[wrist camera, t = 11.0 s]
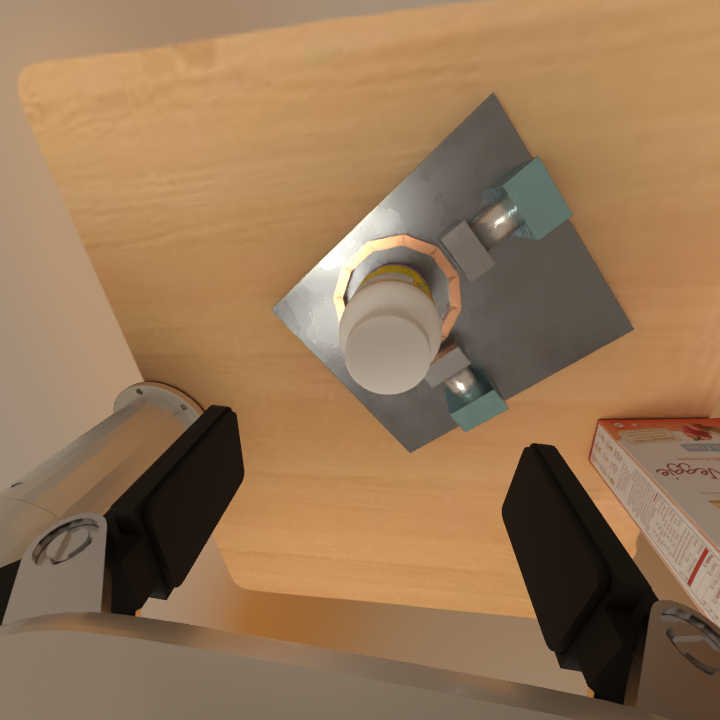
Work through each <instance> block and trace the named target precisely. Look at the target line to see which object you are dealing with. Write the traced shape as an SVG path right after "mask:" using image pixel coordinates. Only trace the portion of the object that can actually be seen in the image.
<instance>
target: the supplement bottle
mask: <svg viewBox="0 0 720 720" xmlns="http://www.w3.org/2000/svg"><path fill="white" fill-rule="evenodd" d="M441 340H442V323H441V319H440V316H439V313H438V310H437V308H436V305H435V302H434V300H433V297H432V294H431V291H430V289H429V287H428V284H427V283H426V281H425V280H424V278H423V277H422V276H421V275H420V274H419V273H418V272H417V271H416V270H414V269H413V268H411V267H408V266H406V265H402V264H387V265H383V266H380V267H378V268H376V269H374V270H373V271H371V272H370V273H369V274H368V275H367V276H366V277H365V278H364V279H363V281H362V282H361V284H360V285H359V287H358V288H357V290H356V292H355V293H354V295H353V296H352V298H351V299H350V301H349V302H348V304H347V305H346V307H345V309H344V311H343V313H342V316H341V319H340V323H339V341H340V346H341V349H342V351H343V353H344V357H345V363H346V367H347V369H348V371H349V373H350V375H351V376H352V378H353V379H354V380H355V381H356V382H357V383H358V384H359V385H361V386H362V387H363V388H365V389H367V390H369V391H371V392H374V393H378V394H385V395H391V394H398V393H402V392H405V391H407V390H410V389H411V388H413V387H415V386H416V385H417V384H418V383H419V382H420V381H421V380H422V379H423V378H424V377H425V375H426V373H427V371H428V369H429V366H430V363H431V362H432V361H433V360H434V358H435V356H436V355H437V352H438V350H439V348H440V344H441Z"/></svg>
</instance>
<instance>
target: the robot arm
mask: <svg viewBox="0 0 720 720" xmlns="http://www.w3.org/2000/svg"><path fill="white" fill-rule="evenodd" d="M243 478H244V465H243V458H242V451H241V444H240V436H239V429H238V422H237V415H236V413H235V412H232V409H231V408H230V407H226V406H217V405H211V406H210V407H209V408H208V409H207V410H206V411H205V412H203V411H202V410H201V408H200V407H199V406H198V405H197V404H196V403H195V402H194V401H193V400H192V399H191V398H189V397H188V396H187V395H185V394H184V393H182V392H181V391H179V390H177V389H175V388H173V387H170V386H167V385H164V384H161V383H155V382H141V383H136V384H134V385H132V386H130V387H128V388H127V389H125V390H124V391H122V392H121V393H120V394H119V395H118V397H117V398H116V400H115V403H114V414H112V415H111V416H110V417H108V418H107V419H105V420H104V421H102V422H101V423H99V424H98V425H97V426H95V427H94V428H92V429H91V430H89V431H88V432H86V433H85V434H83V435H82V436H81V437H79V438H78V439H76V440H75V441H73V442H72V443H70V444H69V445H68V446H66V447H65V448H63V449H62V450H60V451H59V452H57V453H56V454H55V455H53V456H52V457H50V458H49V459H47V460H46V461H44V462H43V463H41V464H40V465H39V466H37V467H36V468H34V469H33V470H31V471H30V472H28V473H27V474H26V475H24V476H23V477H21V478H20V479H18V480H17V481H15V482H14V483H12V484H11V485H10V486H8V487H7V488H5V489H4V490H2V491H1V492H0V720H720V628H719V627H718V626H717V625H716V624H715V623H713V622H712V621H710V620H709V619H708V618H706V617H705V616H703V615H702V614H701V613H699V612H697V611H695V610H694V609H692V608H690V607H688V606H686V605H684V604H681V603H678V602H675V601H672V600H660V601H659V600H658V598H657V597H656V595H655V594H654V592H653V591H652V588H651V586H650V585H649V583H648V582H647V580H646V579H645V577H644V576H643V574H642V573H641V571H640V570H639V568H638V567H637V566H636V564H635V563H634V561H633V560H632V558H631V557H630V555H629V554H628V552H627V551H626V549H625V548H624V547H623V545H622V544H621V542H620V541H619V539H618V538H617V536H616V535H615V533H614V532H613V530H612V529H611V528H610V526H609V525H608V523H607V522H606V520H605V519H604V517H603V516H602V514H601V513H600V511H599V510H598V508H597V507H596V506H595V504H594V503H593V501H592V500H591V498H590V497H589V495H588V494H587V492H586V491H585V489H584V488H583V487H582V485H581V484H580V482H579V481H578V479H577V478H576V476H575V475H574V473H573V472H572V470H571V469H570V468H569V466H568V465H567V463H566V462H565V460H564V459H563V457H562V456H561V454H560V453H559V451H558V450H557V449H556V448H555V446H552V445H545V444H537V443H532V444H531V445H530V447H525V448H524V450H523V452H522V455H521V458H520V460H519V463H518V466H517V469H516V471H515V474H514V477H513V479H512V482H511V485H510V487H509V490H508V493H507V495H506V498H505V501H504V503H503V506H502V518H503V521H504V524H505V527H506V530H507V532H508V535H509V538H510V541H511V544H512V547H513V550H514V553H515V556H516V558H517V561H518V564H519V567H520V570H521V573H522V576H523V579H524V582H525V584H526V587H527V590H528V593H529V596H530V599H531V602H532V605H533V608H534V610H535V613H536V616H537V619H538V622H539V625H540V628H541V631H542V633H543V636H544V639H545V642H546V644H547V646H548V648H549V649H550V650H551V651H554V652H555V654H556V657H557V660H558V663H559V665H560V668H563V669H569V670H575V671H580V672H582V673H583V675H584V678H585V680H586V683H587V685H588V687H589V689H588V693H587V697H586V696H581V695H576V694H571V693H566V692H561V691H556V690H551V689H546V688H542V687H537V686H532V685H527V684H521V683H516V682H510V681H505V680H499V679H494V678H489V677H483V676H477V675H472V674H467V673H461V672H456V671H450V670H445V669H440V668H434V667H429V666H423V665H418V664H411V663H407V662H401V661H395V660H390V659H384V658H378V657H372V656H367V655H362V654H356V653H350V652H345V651H339V650H334V649H328V648H322V647H317V646H311V645H305V644H300V643H293V642H288V641H283V640H277V639H271V638H265V637H259V636H253V635H248V634H241V633H236V632H230V631H224V630H218V629H213V628H207V627H201V626H195V625H189V624H183V623H176V622H170V621H163V620H156V619H149V618H142V617H141V608H142V607H143V605H144V603H145V602H146V601H147V599H148V597H151V598H157V599H163V600H167V599H168V597H169V595H170V594H171V592H172V590H173V589H174V587H179V586H180V585H181V584H182V583H183V581H184V580H185V578H186V576H187V574H188V573H189V571H190V569H191V568H192V566H193V564H194V563H195V561H196V559H197V558H198V556H199V554H200V552H201V550H202V549H203V547H204V545H205V544H206V542H207V541H208V539H209V537H210V535H211V534H212V532H213V530H214V529H215V527H216V525H217V524H218V522H219V520H220V519H221V517H222V515H223V513H224V512H225V510H226V508H227V507H228V505H229V503H230V502H231V500H232V498H233V497H234V495H235V493H236V491H237V490H238V488H239V486H240V485H241V483H242V481H243Z"/></svg>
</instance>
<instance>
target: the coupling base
mask: <svg viewBox="0 0 720 720" xmlns="http://www.w3.org/2000/svg"><path fill="white" fill-rule="evenodd" d="M572 215H573V214H572V212H571V211H570V209H569V207H568V206H567V204H566V202H565V201H564V199H563V197H562V195H561V194H560V192H559V190H558V189H557V187H556V185H555V184H554V182H553V180H552V178H551V177H550V175H549V173H548V172H547V170H546V168H545V167H544V165H543V163H542V161H541V160H540V158H539V156H537V157H535V158H532V157H531V155H530V154H529V152H528V150H527V149H526V147H525V145H524V143H523V142H522V140H521V138H520V137H519V135H518V133H517V132H516V130H515V128H514V127H513V125H512V123H511V122H510V120H509V118H508V117H507V115H506V113H505V112H504V110H503V108H502V106H501V105H500V103H499V101H498V100H497V98H496V96H495V95H494V93H492V94H491V95H490V96H489V97H488V98H487V99H486V100H485V101H484V102H483V103H482V104H481V105H480V106H479V107H478V108H477V109H476V110H475V111H474V112H473V113H472V114H471V115H470V116H469V117H467V118H466V119H465V120H464V121H463V122H462V123H461V124H460V125H459V126H458V127H457V128H456V129H455V130H454V131H453V132H452V133H451V134H450V135H449V136H448V137H447V138H446V139H445V140H444V141H443V142H442V143H441V144H440V145H439V146H438V147H437V148H436V149H435V150H434V151H433V152H432V153H431V154H430V155H429V156H428V157H427V158H426V159H425V160H424V161H423V162H421V163H420V164H419V165H418V166H417V167H416V168H415V169H414V170H413V171H412V172H411V173H410V174H409V175H408V176H407V177H406V178H405V179H404V180H403V181H402V182H401V183H400V184H399V185H398V186H397V187H396V188H395V189H394V190H393V191H392V192H391V193H390V194H389V195H388V196H387V197H386V198H385V199H384V200H383V201H382V202H381V203H380V204H379V205H378V206H377V207H375V208H374V209H373V210H372V211H371V212H370V213H369V214H368V215H367V216H366V217H365V218H364V219H363V220H362V221H361V222H360V223H359V224H358V225H357V226H356V227H355V228H354V229H353V230H352V231H351V232H350V233H349V234H348V235H347V236H346V237H345V238H344V239H343V240H342V241H341V242H340V243H339V244H338V245H337V246H336V247H335V248H334V249H333V250H332V251H331V252H329V253H328V254H327V255H326V256H325V257H324V258H323V259H322V260H321V261H320V262H319V263H318V264H317V265H316V266H315V267H314V268H313V269H312V270H311V271H310V272H309V273H308V274H307V275H306V276H305V277H304V278H303V279H302V280H301V281H300V282H299V283H298V284H297V285H296V286H295V287H294V288H293V289H292V290H291V291H290V292H289V293H288V294H287V295H286V296H285V297H284V298H282V299H281V300H280V301H279V302H278V303H277V304H276V305H275V306H274V307H273V308H272V309H271V310H272V311H273V312H274V313H275V314H276V315H277V316H278V317H279V319H280V320H281V321H282V322H283V323H284V324H285V325H286V326H287V327H288V328H289V329H290V330H291V331H292V332H293V333H294V334H295V335H296V336H297V337H298V338H299V339H300V340H301V341H302V342H303V343H304V344H305V345H306V346H307V347H308V348H309V349H310V350H311V351H312V352H313V354H314V355H315V356H316V357H317V358H318V359H319V360H320V361H321V362H322V363H323V364H324V365H325V366H326V367H327V368H328V369H329V370H330V371H331V372H332V373H333V374H334V375H335V376H336V377H337V378H338V379H339V380H340V381H341V382H342V383H343V384H344V385H345V386H346V387H347V388H348V390H349V391H350V392H351V393H352V394H353V395H354V396H355V397H356V398H357V399H358V400H359V401H360V402H361V403H362V404H363V405H364V406H365V407H366V408H367V409H368V410H369V411H370V412H371V413H372V414H373V415H374V416H375V417H376V418H377V419H378V420H379V421H380V422H381V423H382V425H383V426H384V427H385V428H386V429H387V430H388V431H389V432H390V433H391V434H392V435H393V436H394V437H395V438H396V439H397V440H398V441H399V442H400V443H401V444H402V445H403V446H404V447H405V448H406V449H407V450H408V451H409V452H410V453H411V452H413V451H415V450H416V449H418V448H420V447H422V446H424V445H425V444H427V443H429V442H431V441H433V440H435V439H436V438H438V437H440V436H442V435H444V434H445V433H447V432H449V431H451V430H453V429H454V428H456V427H458V426H460V427H461V428H462V429H463V430H464V431H465V432H466V431H468V430H470V429H472V428H474V427H476V426H478V425H479V424H481V423H483V422H485V421H487V420H489V419H491V418H492V417H494V416H496V415H498V414H500V413H502V412H504V411H505V410H507V409H509V407H508V406H507V404H506V402H505V400H507V399H509V398H511V397H512V396H514V395H516V394H518V393H520V392H522V391H523V390H525V389H527V388H529V387H531V386H532V385H534V384H536V383H538V382H540V381H541V380H543V379H545V378H547V377H549V376H551V375H552V374H554V373H556V372H558V371H560V370H561V369H563V368H565V367H567V366H569V365H570V364H572V363H574V362H576V361H578V360H580V359H581V358H583V357H585V356H587V355H589V354H590V353H592V352H594V351H596V350H598V349H599V348H601V347H603V346H605V345H607V344H609V343H610V342H612V341H614V340H616V339H618V338H619V337H621V336H623V335H625V334H627V333H628V332H630V331H632V330H634V328H633V327H632V325H631V323H630V322H629V320H628V318H627V317H626V315H625V313H624V312H623V310H622V308H621V307H620V305H619V303H618V302H617V300H616V298H615V296H614V295H613V293H612V291H611V290H610V288H609V286H608V285H607V283H606V281H605V280H604V278H603V276H602V275H601V273H600V271H599V270H598V268H597V266H596V265H595V263H594V261H593V259H592V258H591V256H590V254H589V253H588V251H587V249H586V248H585V246H584V244H583V243H582V241H581V239H580V238H579V236H578V234H577V233H576V231H575V229H574V228H573V226H572V224H571V223H570V221H569V219H568V218H570V217H571V216H572ZM387 264H402V265H406V266H408V267H411V268H413V269H414V270H416V271H417V272H418V273H419V274H420V275H421V276H422V277H423V278H424V280H425V281H426V283H427V284H428V287H429V289H430V291H431V294H432V297H433V300H434V302H435V305H436V308H437V310H438V313H439V316H440V319H441V323H442V340H441V344H440V348H439V350H438V352H437V355H436V356H435V358H434V360H433V361H432V362H431V363H430V366H429V369H428V371H427V373H426V375H425V377H424V378H423V379H422V380H421V381H420V382H419V383H418V384H417V385H416V386H415V387H413V388H411V389H410V390H407V391H405V392H402V393H398V394H391V395H385V394H378V393H374V392H371V391H369V390H367V389H365V388H363V387H362V386H361V385H359V384H358V383H357V382H356V381H355V380H354V379H353V378H352V376H351V375H350V373H349V371H348V369H347V367H346V363H345V357H344V353H343V351H342V349H341V346H340V341H339V323H340V319H341V316H342V313H343V311H344V309H345V307H346V305H347V304H348V302H349V301H350V299H351V298H352V296H353V295H354V293H355V292H356V290H357V288H358V287H359V285H360V284H361V282H362V281H363V279H364V278H365V277H366V276H367V275H368V274H369V273H370V272H371V271H373V270H374V269H376V268H378V267H380V266H383V265H387Z"/></svg>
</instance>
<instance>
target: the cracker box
mask: <svg viewBox="0 0 720 720" xmlns="http://www.w3.org/2000/svg"><path fill="white" fill-rule="evenodd" d="M589 462H590V463H591V465H592V466H593V467H594V469H595V470H596V472H597V473H598V474H599V476H600V477H601V478H602V480H603V481H604V482H605V484H606V485H607V486H608V488H609V489H610V490H611V492H612V493H613V494H614V496H615V497H616V499H617V500H618V501H619V503H620V504H621V505H622V507H623V508H624V509H625V511H626V512H627V513H628V515H629V516H630V517H631V519H632V520H633V521H634V523H635V524H636V525H637V527H638V528H639V530H640V531H641V532H642V533H643V535H644V536H645V538H646V539H647V540H648V542H649V543H650V544H651V546H652V547H653V548H654V550H655V551H656V552H657V554H658V555H659V556H660V558H661V559H662V560H663V562H664V563H665V564H666V565H667V567H668V568H669V570H670V571H671V572H672V574H673V575H674V577H675V578H676V579H677V580H678V582H679V583H680V585H681V586H682V587H683V589H684V590H685V591H686V593H687V594H688V595H689V597H690V598H691V599H692V601H693V602H694V603H695V605H696V606H697V607H698V609H699V610H700V611H701V613H702V614H703V615H704V616H705V617H706V618H708V619H709V620H710V621H712V622H713V623H715V624H716V625H717V626H718V627H719V628H720V418H715V419H714V418H713V419H639V420H599V421H598V424H597V429H596V433H595V437H594V441H593V445H592V450H591V454H590V458H589Z"/></svg>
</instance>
